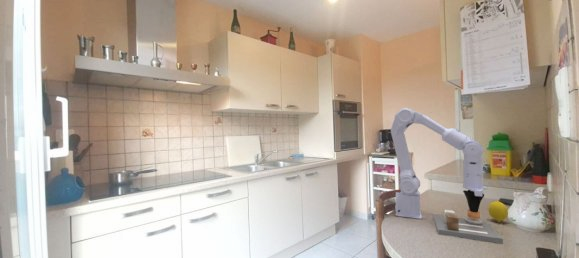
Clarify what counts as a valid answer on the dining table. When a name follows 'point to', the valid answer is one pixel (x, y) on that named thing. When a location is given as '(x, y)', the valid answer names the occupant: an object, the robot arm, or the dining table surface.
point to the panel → (468, 229)
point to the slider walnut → (452, 222)
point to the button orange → (473, 214)
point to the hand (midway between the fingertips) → (473, 211)
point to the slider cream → (448, 213)
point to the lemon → (498, 211)
